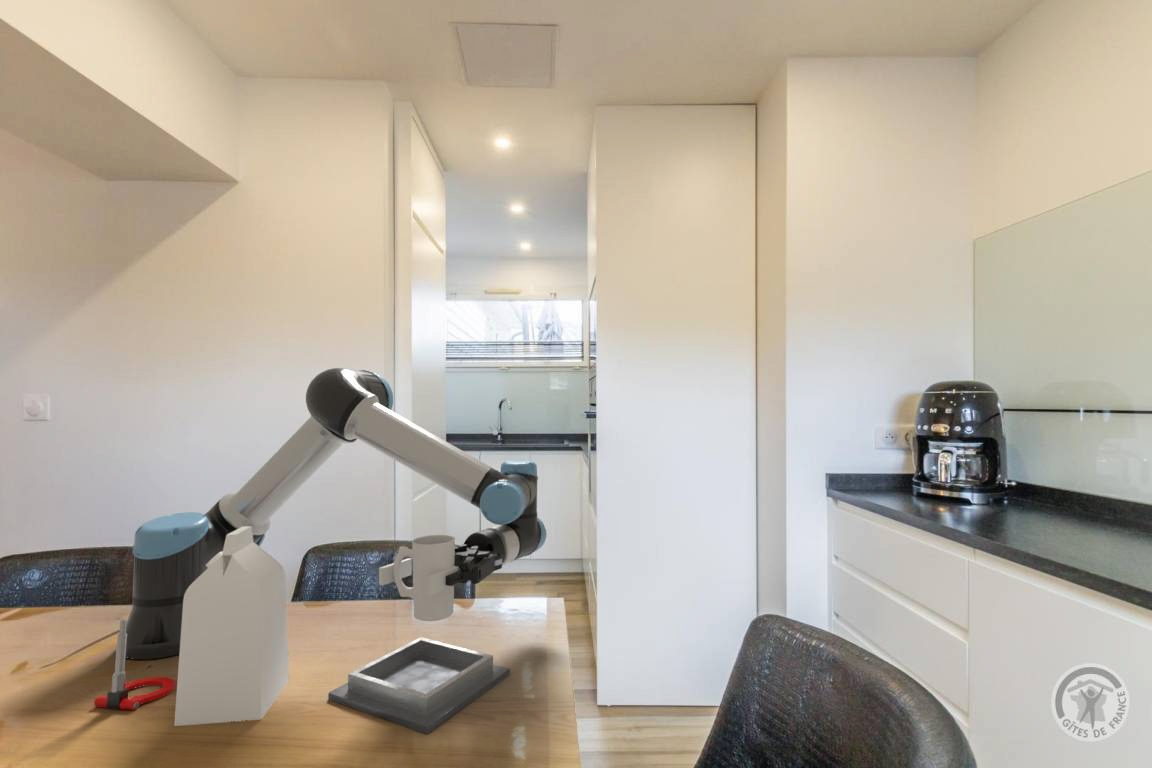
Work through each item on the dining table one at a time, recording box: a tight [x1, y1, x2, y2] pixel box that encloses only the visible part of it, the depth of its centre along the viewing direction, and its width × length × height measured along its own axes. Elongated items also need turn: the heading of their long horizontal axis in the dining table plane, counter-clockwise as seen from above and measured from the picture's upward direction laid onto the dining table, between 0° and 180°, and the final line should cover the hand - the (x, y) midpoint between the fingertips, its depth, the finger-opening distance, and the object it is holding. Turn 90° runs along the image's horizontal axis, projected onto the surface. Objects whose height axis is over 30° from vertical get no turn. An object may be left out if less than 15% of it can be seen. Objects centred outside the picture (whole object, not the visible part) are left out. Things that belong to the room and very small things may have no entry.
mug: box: [393, 534, 456, 622], centre depth 94 cm, size 10×7×12 cm, turn 87°
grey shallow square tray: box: [327, 636, 511, 735], centre depth 94 cm, size 20×20×4 cm
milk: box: [173, 526, 290, 727], centre depth 89 cm, size 12×12×26 cm
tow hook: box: [93, 618, 176, 711], centre depth 91 cm, size 8×13×9 cm
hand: (404, 581), depth 90 cm, fingers closed on mug, 9 cm apart
